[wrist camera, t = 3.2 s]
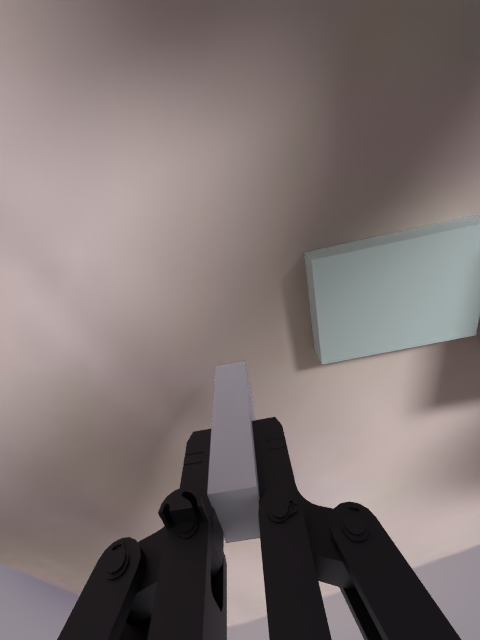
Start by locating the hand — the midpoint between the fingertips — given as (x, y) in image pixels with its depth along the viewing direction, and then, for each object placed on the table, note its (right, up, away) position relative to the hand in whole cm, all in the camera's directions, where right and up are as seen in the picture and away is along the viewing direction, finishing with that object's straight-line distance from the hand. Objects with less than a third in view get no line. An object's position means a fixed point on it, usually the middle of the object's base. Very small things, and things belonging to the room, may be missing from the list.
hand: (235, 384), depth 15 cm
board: (+11, +6, +6) cm, 14 cm away
